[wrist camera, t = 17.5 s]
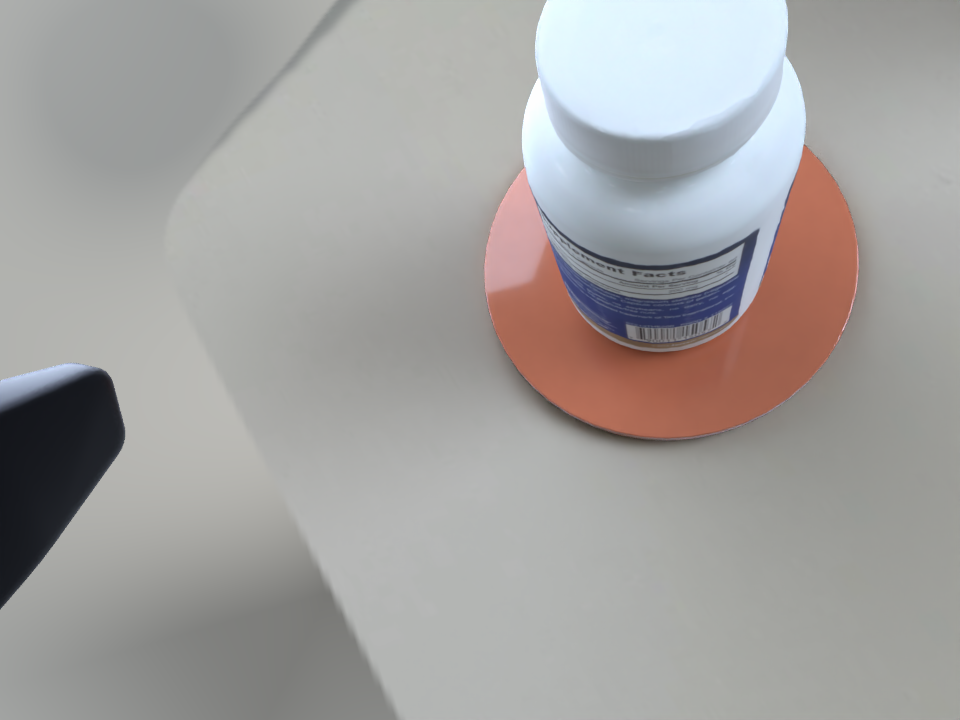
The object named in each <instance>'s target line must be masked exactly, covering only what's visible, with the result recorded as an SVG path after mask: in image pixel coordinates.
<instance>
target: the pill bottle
mask: <svg viewBox="0 0 960 720" xmlns="http://www.w3.org/2000/svg"><path fill="white" fill-rule="evenodd" d="M787 37H788V14H787V6H786V2H785V0H547V2H546V4H545V7H544V9H543V12H542V14H541V17H540V20H539V24H538V28H537V33H536V44H535V56H536V64H537V69H538V74H539V78H538V80H537V82H536V84H535V86H534V88H533V90H532V93H531V95H530V98H529V100H528V103H527V107H526V111H525V116H524V121H523V129H522V149H523V158H524V164H525V168H526V174H527V179H528V184H529V186H530V189H531V191H532V194H533V196H534V199H535V201H536V204H537V207H538V210H539V213H540V216H541V218H542V222H543V224H544V227H545V230H546V233H547V236H548V239H549V242H550V245H551V248H552V251H553V253H554V257H555V260H556V262H557V265H558V268H559V271H560V274H561V276H562V279H563V282H564V284H565V286H566V289H567V291H568V294H569V296H570V298H571V300H572V302H573V303H574V305H575V307H576V309H577V310H578V312H579V313H580V314H581V315H582V317H583V318H584V319H585V320H586V321H587V322H588V323H589V324H590V325H591V326H592V327H593V328H594V329H595V330H597V331H598V332H599V333H601V334H602V335H604V336H605V337H607V338H608V339H610V340H612V341H614V342H616V343H618V344H620V345H623V346H627V347H630V348H633V349H637V350H642V351H650V352H669V351H679V350H684V349H688V348H692V347H695V346H698V345H701V344H703V343H706V342H708V341H710V340H712V339H714V338H715V337H717V336H719V335H721V334H722V333H724V332H725V331H727V330H728V329H729V328H730V327H731V326H732V325H733V324H734V323H735V322H737V321H738V320H739V318H740V317H741V316H742V315H743V314H744V312H745V311H746V310H747V308H748V307H749V305H750V304H751V302H752V301H753V299H754V297H755V295H756V293H757V291H758V289H759V287H760V285H761V283H762V280H763V277H764V274H765V272H766V270H767V266H768V263H769V259H770V256H771V253H772V250H773V246H774V243H775V239H776V237H777V233H778V230H779V227H780V223H781V220H782V217H783V214H784V210H785V207H786V204H787V201H788V198H789V195H790V192H791V189H792V186H793V183H794V180H795V177H796V174H797V171H798V168H799V164H800V161H801V157H802V151H803V145H804V139H805V130H806V114H805V104H804V99H803V94H802V90H801V86H800V83H799V80H798V78H797V75H796V73H795V71H794V69H793V67H792V65H791V63H790V62H789V60H788V59H787V57H786V56H785V50H786V44H787Z"/></svg>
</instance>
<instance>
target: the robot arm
mask: <svg viewBox="0 0 960 720" xmlns="http://www.w3.org/2000/svg"><path fill="white" fill-rule="evenodd" d="M124 440H125V427H124V423H123V419H122V415H121V412H120V408H119V404H118V400H117V396H116V392H115V388H114V385H113V381H112V379H111V377H110V376H109V375H108V373H107V372H106V371H104V370H102V369H100V368H96V367H92V366H87V365H83V364H79V363H66V364H61V365H58V366H54V367H50V368H46V369H43V370H39V371H35V372H31V373H27V374H24V375H19V376H16V377H12V378H8V379H4V380H0V609H1V608H2V607H3V606H4V604H5V603H6V602H7V601H8V600H9V599H10V597H11V596H12V595H13V594H14V593H15V592H16V590H17V589H18V588H19V587H20V586H21V585H22V583H23V582H24V581H25V580H26V579H27V577H29V575H30V574H31V573H32V572H33V570H34V569H35V568H36V567H37V566H38V564H39V563H40V562H41V561H42V559H43V558H44V557H45V555H46V554H47V553H48V551H49V550H50V548H51V547H52V546H53V545H54V543H55V542H56V541H57V539H58V538H59V536H60V535H61V533H62V532H63V531H64V529H65V528H66V527H67V525H68V524H69V522H70V521H71V520H72V518H73V517H74V515H75V514H76V513H77V511H78V510H79V509H80V507H81V506H82V504H83V503H84V502H85V500H86V499H87V497H88V496H89V495H90V493H91V492H92V490H93V489H94V488H95V486H96V485H97V483H98V482H99V481H100V479H101V478H102V476H103V475H104V473H105V472H106V471H107V469H108V468H109V467H110V465H111V464H112V462H113V461H114V460H115V458H116V457H117V455H118V454H119V452H120V451H121V449H122V446H123V444H124Z"/></svg>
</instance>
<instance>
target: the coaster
mask: <svg viewBox="0 0 960 720" xmlns="http://www.w3.org/2000/svg"><path fill="white" fill-rule="evenodd" d="M858 275H859V252H858V243H857V237H856V232H855V226H854V223H853V220H852V217H851V214H850V211H849V208H848V205H847V203H846V201H845V199H844V197H843V195H842V193H841V191H840V189H839V187H838V185H837V183H836V182H835V180H834V179H833V177H832V176H831V175H830V173H829V172H828V170H827V169H826V168H825V166H824V165H823V163H822V162H821V161H820V160H819V159H818V158H817V157H816V156H815V155H814V154H813V153H812V152H811V151H810V150H809V149H808V148H807V147H806V146H805V145H803V151H802V157H801V161H800V164H799V168H798V171H797V174H796V177H795V180H794V183H793V186H792V189H791V192H790V195H789V198H788V201H787V204H786V207H785V210H784V214H783V217H782V220H781V223H780V227H779V230H778V233H777V237H776V239H775V243H774V246H773V250H772V253H771V256H770V259H769V263H768V266H767V270H766V272H765V274H764V277H763V280H762V283H761V285H760V287H759V289H758V291H757V293H756V295H755V297H754V299H753V301H752V302H751V304H750V305H749V307H748V308H747V310H746V311H745V312H744V314H743V315H742V316H741V317H740V318H739V320H738V321H737V322H735V323H734V324H733V325H732V326H731V327H730V328H729V329H728V330H727V331H725V332H724V333H722V334H721V335H719V336H717V337H715V338H714V339H712V340H710V341H708V342H706V343H703V344H701V345H698V346H695V347H692V348H688V349H684V350H679V351H669V352H650V351H642V350H637V349H633V348H630V347H627V346H623V345H620V344H618V343H616V342H614V341H612V340H610V339H608V338H607V337H605V336H604V335H602V334H601V333H599V332H598V331H597V330H595V329H594V328H593V327H592V326H591V325H590V324H589V323H588V322H587V321H586V320H585V319H584V318H583V317H582V315H581V314H580V313H579V312H578V310H577V309H576V307H575V305H574V303H573V302H572V300H571V298H570V296H569V294H568V291H567V289H566V286H565V284H564V282H563V279H562V276H561V274H560V271H559V268H558V265H557V262H556V260H555V257H554V253H553V251H552V248H551V245H550V242H549V239H548V236H547V233H546V230H545V227H544V224H543V222H542V218H541V216H540V213H539V210H538V207H537V204H536V201H535V199H534V196H533V194H532V191H531V189H530V186H529V184H528V179H527V174H526V168H525V167H524V168H523V169H522V171H521V172H520V173H519V175H518V176H517V178H516V179H515V180H514V182H513V183H512V185H511V186H510V187H509V189H508V191H507V193H506V195H505V197H504V198H503V200H502V202H501V204H500V206H499V208H498V211H497V213H496V216H495V218H494V221H493V224H492V226H491V230H490V234H489V238H488V243H487V247H486V256H485V265H484V277H485V293H486V298H487V304H488V310H489V313H490V316H491V319H492V323H493V326H494V329H495V332H496V334H497V336H498V338H499V340H500V342H501V344H502V346H503V348H504V350H505V352H506V353H507V355H508V356H509V358H510V359H511V361H512V362H513V364H514V365H515V367H516V368H517V370H518V371H519V372H520V374H521V375H522V376H523V377H524V378H525V379H526V380H527V381H528V382H529V384H530V385H531V386H532V387H533V388H534V389H535V390H536V391H537V392H538V393H540V394H541V395H542V396H543V397H544V398H545V399H547V400H548V401H549V402H550V403H551V404H553V405H554V406H556V407H557V408H559V409H561V410H562V411H564V412H565V413H567V414H568V415H570V416H571V417H573V418H576V419H578V420H580V421H582V422H584V423H586V424H588V425H590V426H592V427H595V428H598V429H601V430H604V431H607V432H610V433H614V434H617V435H622V436H627V437H633V438H638V439H647V440H664V441H670V440H685V439H695V438H700V437H705V436H710V435H716V434H720V433H723V432H726V431H729V430H732V429H735V428H738V427H741V426H743V425H746V424H748V423H750V422H752V421H754V420H756V419H758V418H760V417H762V416H764V415H766V414H768V413H769V412H771V411H772V410H774V409H775V408H777V407H778V406H780V405H781V404H783V403H784V402H786V401H787V400H789V399H790V398H791V397H792V396H793V395H794V394H796V393H797V392H798V391H799V390H800V389H801V388H802V387H804V386H805V385H806V384H807V383H808V382H809V381H810V379H811V378H812V377H813V376H814V375H815V374H816V373H817V371H818V370H819V369H820V368H821V367H822V366H823V364H824V363H825V362H826V360H827V359H828V357H829V355H830V354H831V352H832V351H833V349H834V348H835V346H836V345H837V343H838V342H839V340H840V338H841V335H842V333H843V331H844V329H845V327H846V324H847V322H848V320H849V318H850V314H851V311H852V307H853V304H854V300H855V297H856V291H857V283H858Z"/></svg>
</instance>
